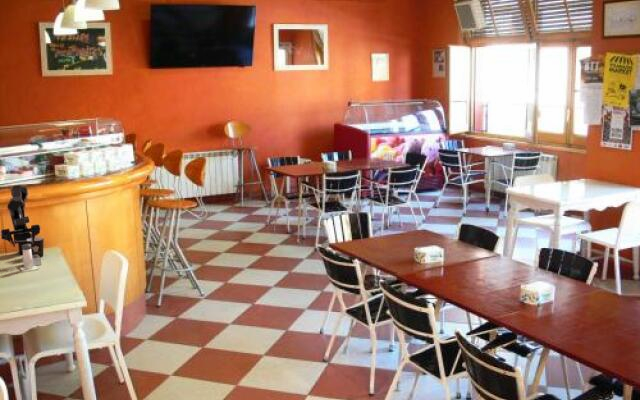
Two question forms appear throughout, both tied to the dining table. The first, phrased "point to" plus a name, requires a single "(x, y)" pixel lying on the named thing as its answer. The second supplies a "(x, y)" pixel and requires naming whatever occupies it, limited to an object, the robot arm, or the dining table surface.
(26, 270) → the pad
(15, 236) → the robot arm
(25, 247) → the salt shaker
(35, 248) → the coffee mug
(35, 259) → the motor housing
